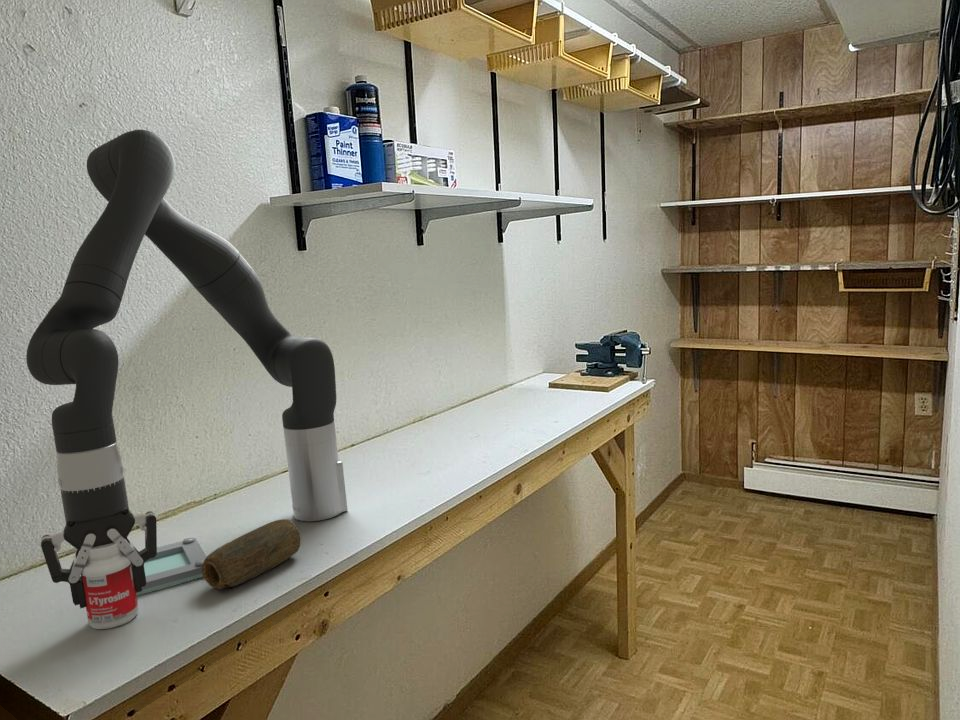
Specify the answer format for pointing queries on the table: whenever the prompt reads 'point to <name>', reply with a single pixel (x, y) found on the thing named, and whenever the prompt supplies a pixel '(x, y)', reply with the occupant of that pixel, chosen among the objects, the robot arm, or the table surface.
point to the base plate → (173, 565)
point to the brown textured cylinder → (251, 554)
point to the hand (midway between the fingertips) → (111, 597)
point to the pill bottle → (109, 587)
